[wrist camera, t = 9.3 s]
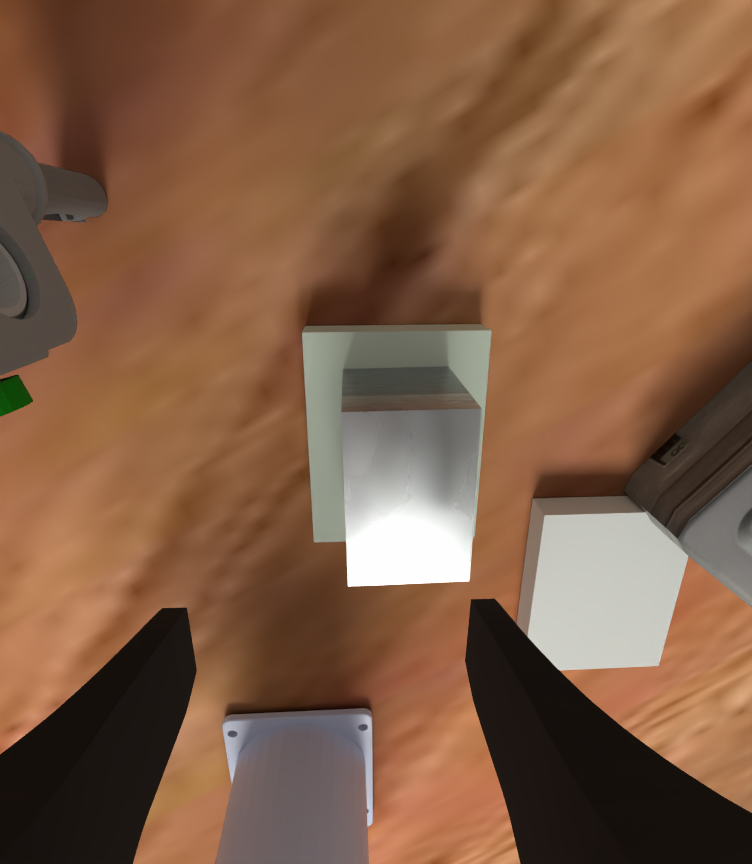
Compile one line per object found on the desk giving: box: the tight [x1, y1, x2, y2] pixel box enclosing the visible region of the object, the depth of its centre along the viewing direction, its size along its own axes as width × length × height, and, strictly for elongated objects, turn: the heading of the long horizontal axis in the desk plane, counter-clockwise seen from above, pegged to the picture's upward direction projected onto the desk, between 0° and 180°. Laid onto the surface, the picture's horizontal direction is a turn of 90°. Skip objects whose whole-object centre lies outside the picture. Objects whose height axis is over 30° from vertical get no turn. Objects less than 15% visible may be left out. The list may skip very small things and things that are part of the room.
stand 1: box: [302, 324, 492, 542], centre depth 20 cm, size 9×7×2 cm
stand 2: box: [516, 496, 688, 670], centre depth 24 cm, size 9×7×2 cm
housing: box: [341, 366, 482, 586], centre depth 17 cm, size 6×4×5 cm, turn 1°
